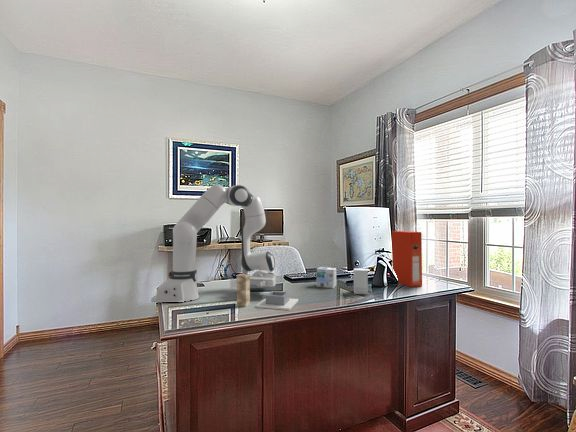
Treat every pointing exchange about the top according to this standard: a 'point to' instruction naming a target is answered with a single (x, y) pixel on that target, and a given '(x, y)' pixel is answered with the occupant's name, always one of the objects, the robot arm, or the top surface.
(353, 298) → the top surface
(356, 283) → the supplement box
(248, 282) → the maple post
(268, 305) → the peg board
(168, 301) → the robot arm
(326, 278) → the light bulb box
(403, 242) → the file binder
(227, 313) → the top surface
